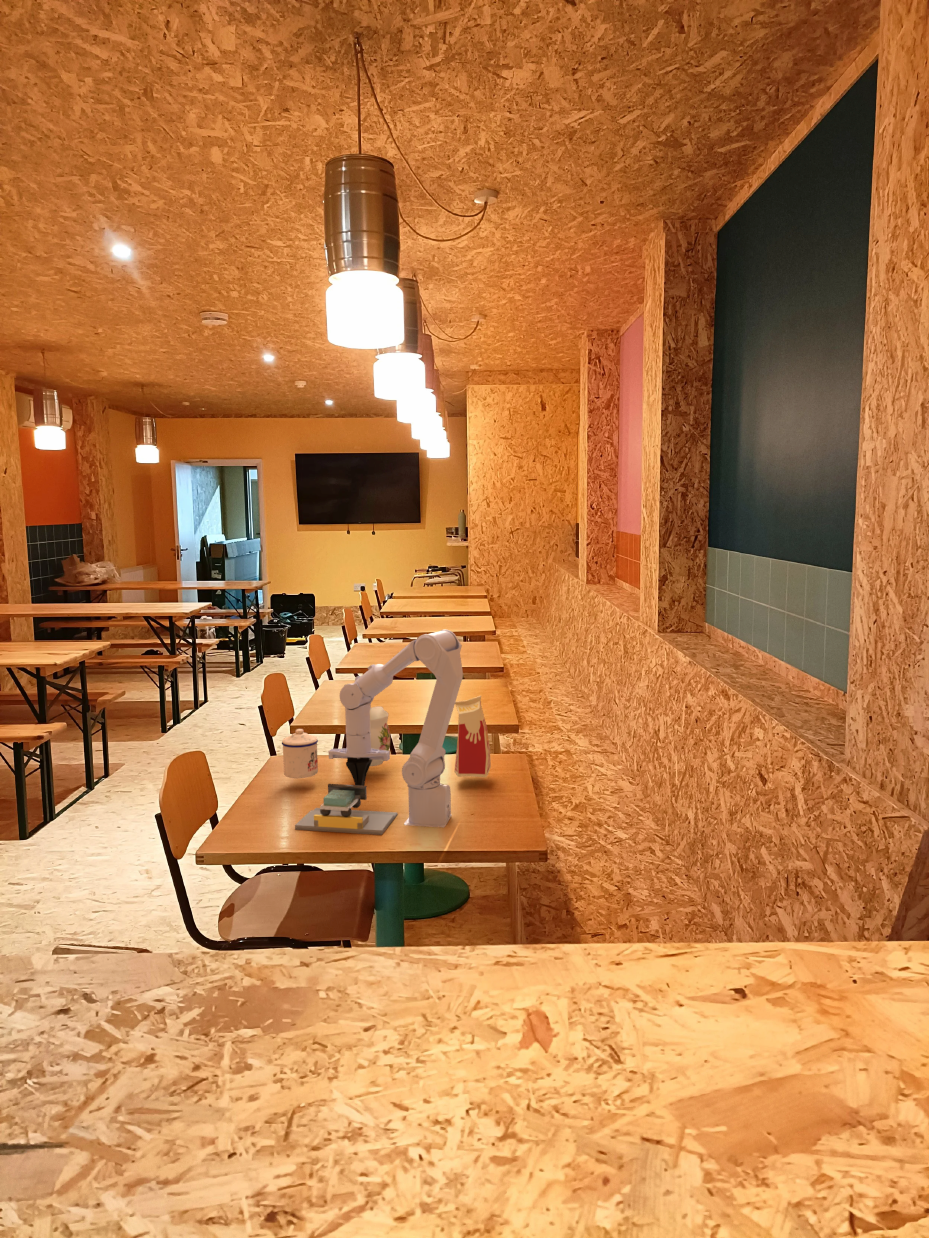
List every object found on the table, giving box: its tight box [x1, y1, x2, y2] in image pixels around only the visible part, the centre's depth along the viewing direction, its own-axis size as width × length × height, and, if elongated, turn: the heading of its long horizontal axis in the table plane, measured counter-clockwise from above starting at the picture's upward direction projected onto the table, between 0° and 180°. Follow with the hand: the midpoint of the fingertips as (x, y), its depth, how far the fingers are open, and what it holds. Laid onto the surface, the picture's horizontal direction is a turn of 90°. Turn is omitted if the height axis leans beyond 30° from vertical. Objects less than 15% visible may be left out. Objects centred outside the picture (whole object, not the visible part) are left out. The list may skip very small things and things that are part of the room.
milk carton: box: [454, 695, 492, 778], centre depth 205 cm, size 9×9×20 cm
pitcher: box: [370, 705, 391, 767], centre depth 213 cm, size 11×18×14 cm, turn 166°
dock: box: [294, 807, 398, 836], centre depth 181 cm, size 20×12×3 cm, turn 79°
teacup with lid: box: [281, 728, 319, 779], centre depth 207 cm, size 12×9×12 cm
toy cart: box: [319, 783, 368, 817], centre depth 178 cm, size 9×9×5 cm
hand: (360, 788), depth 190 cm, fingers closed
